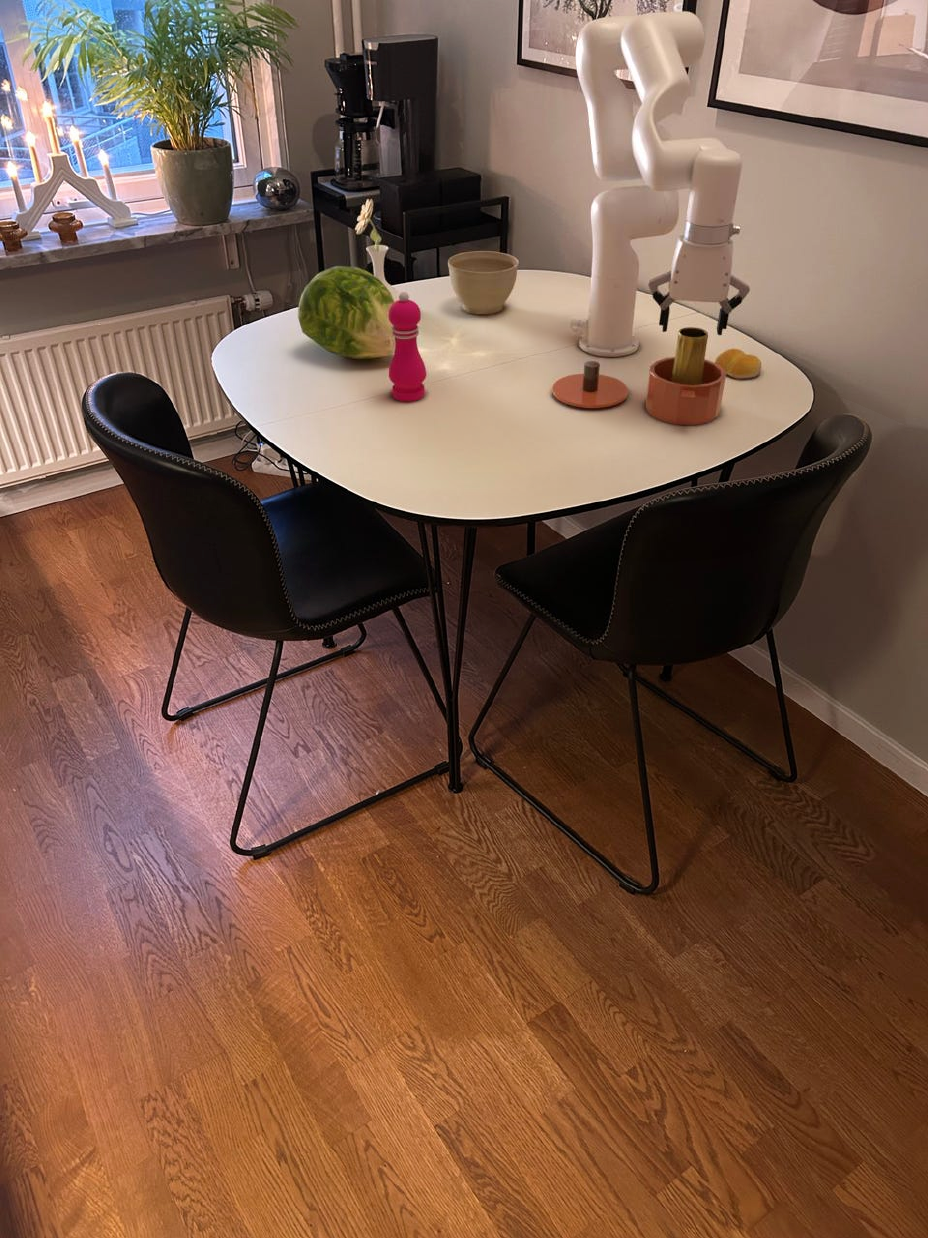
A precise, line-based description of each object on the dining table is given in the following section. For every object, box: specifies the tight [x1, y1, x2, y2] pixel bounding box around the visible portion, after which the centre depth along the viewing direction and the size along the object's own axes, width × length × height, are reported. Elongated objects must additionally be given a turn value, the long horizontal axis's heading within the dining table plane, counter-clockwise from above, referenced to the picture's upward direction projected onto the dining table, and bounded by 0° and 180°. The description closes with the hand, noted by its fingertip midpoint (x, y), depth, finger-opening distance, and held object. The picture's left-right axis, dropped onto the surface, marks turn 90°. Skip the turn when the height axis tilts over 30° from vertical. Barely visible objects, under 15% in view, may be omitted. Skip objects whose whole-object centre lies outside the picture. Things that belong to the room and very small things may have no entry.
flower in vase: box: [354, 198, 401, 302], centre depth 211 cm, size 13×11×25 cm
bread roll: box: [714, 348, 762, 380], centre depth 187 cm, size 8×9×4 cm
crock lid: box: [551, 360, 629, 409], centre depth 179 cm, size 15×15×6 cm
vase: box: [671, 326, 709, 385], centre depth 171 cm, size 6×6×14 cm
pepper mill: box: [388, 291, 427, 402], centre depth 175 cm, size 7×7×20 cm
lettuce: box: [297, 265, 395, 360], centre depth 194 cm, size 18×23×19 cm
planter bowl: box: [447, 250, 520, 315], centre depth 216 cm, size 16×16×11 cm
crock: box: [645, 356, 727, 426], centre depth 173 cm, size 14×19×8 cm
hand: (691, 330), depth 167 cm, fingers open, 9 cm apart
